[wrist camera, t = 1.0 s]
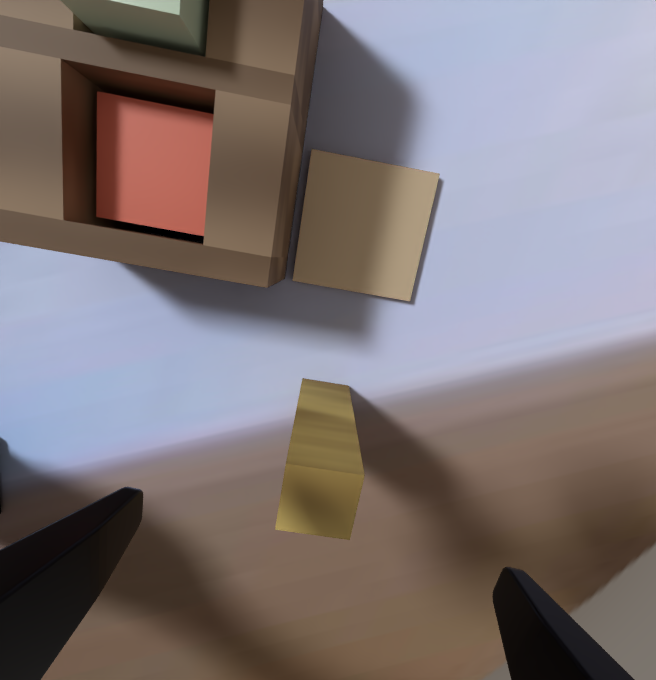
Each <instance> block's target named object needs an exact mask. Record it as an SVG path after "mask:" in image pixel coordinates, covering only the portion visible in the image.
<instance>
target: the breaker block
mask: <svg viewBox="0 0 656 680" xmlns="http://www.w3.org/2000/svg"><path fill="white" fill-rule="evenodd" d="M322 10H323V0H210V1H209V15H208V29H207V43H206V57H204V56H199V55H194V54H189V53H184V52H179V51H174V50H169V49H165V48H160V47H155V46H150V45H145V44H140V43H135V42H130V41H126V40H121V39H116V38H111V37H106V36H101V35H96V34H94V33H93V32H92V31H91V30H90V29H89V28H88V27H87V26H86V25H85V24H84V23H83V22H82V21H81V20H80V19H79V18H78V17H77V16H76V15H75V14H74V13H73V12H72V11H71V10H70V9H69V8H68V7H67V6H66V5H65V4H63V3H62V2H61V1H60V0H0V241H1V242H7V243H12V244H18V245H24V246H30V247H35V248H41V249H47V250H53V251H58V252H64V253H70V254H76V255H81V256H87V257H93V258H99V259H104V260H110V261H116V262H122V263H127V264H133V265H139V266H145V267H150V268H156V269H162V270H168V271H173V272H179V273H185V274H191V275H196V276H202V277H208V278H214V279H219V280H225V281H231V282H237V283H242V284H248V285H254V286H260V287H265V288H268V287H270V286H272V285H274V284H276V283H278V282H280V281H281V280H283V279H285V273H286V266H287V259H288V252H289V245H290V238H291V231H292V224H293V216H294V209H295V202H296V195H297V188H298V181H299V174H300V167H301V160H302V153H303V145H304V138H305V131H306V124H307V117H308V110H309V103H310V96H311V89H312V82H313V74H314V67H315V60H316V53H317V46H318V39H319V32H320V25H321V18H322ZM97 91H99V92H104V93H109V94H114V95H119V96H124V97H129V98H134V99H140V100H145V101H150V102H155V103H160V104H165V105H170V106H175V107H180V108H185V109H190V110H195V111H200V112H205V113H211V114H214V117H213V130H212V142H211V155H210V167H209V180H208V192H207V204H206V217H205V229H204V242H199V241H193V240H188V239H182V238H177V237H171V236H165V235H160V234H154V233H149V232H144V230H145V225H139V224H134V223H128V222H123V221H117V220H111V219H106V218H100V217H96V192H97Z"/></svg>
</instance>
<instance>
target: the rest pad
mask: <svg viewBox="0 0 656 680" xmlns="http://www.w3.org/2000/svg"><path fill="white" fill-rule="evenodd" d="M439 175H440V174H438V173H433V172H428V171H423V170H418V169H412V168H407V167H402V166H397V165H392V164H387V163H382V162H377V161H371V160H366V159H361V158H356V157H351V156H346V155H341V154H336V153H330V152H325V151H320V150H315V149H312V151H311V157H310V164H309V171H308V178H307V185H306V192H305V198H304V205H303V212H302V219H301V226H300V232H299V239H298V246H297V253H296V260H295V267H294V273H293V280H292V281H297V282H302V283H308V284H314V285H319V286H325V287H331V288H336V289H342V290H348V291H354V292H359V293H365V294H371V295H376V296H382V297H388V298H393V299H399V300H405V301H410V299H411V294H412V290H413V286H414V282H415V277H416V273H417V269H418V265H419V260H420V256H421V252H422V248H423V243H424V239H425V235H426V230H427V226H428V222H429V218H430V213H431V209H432V205H433V201H434V196H435V192H436V188H437V184H438V179H439Z"/></svg>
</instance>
